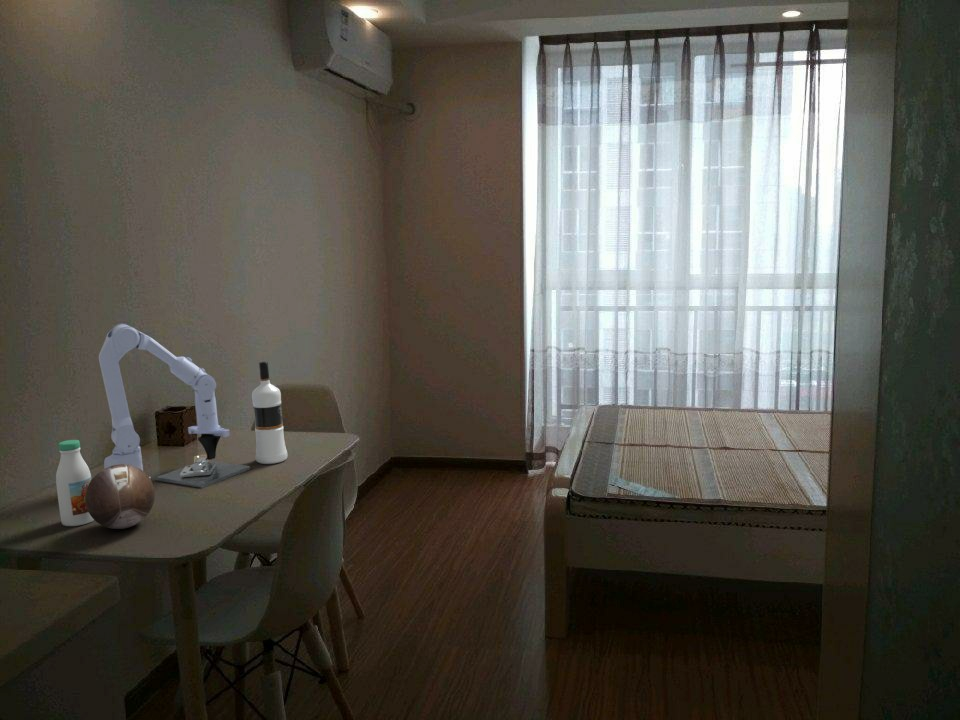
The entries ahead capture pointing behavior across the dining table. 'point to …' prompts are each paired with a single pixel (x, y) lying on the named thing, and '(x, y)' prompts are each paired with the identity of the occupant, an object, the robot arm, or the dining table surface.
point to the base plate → (217, 475)
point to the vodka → (268, 420)
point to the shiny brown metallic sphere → (120, 496)
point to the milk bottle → (72, 484)
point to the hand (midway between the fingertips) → (211, 458)
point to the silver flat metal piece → (207, 470)
